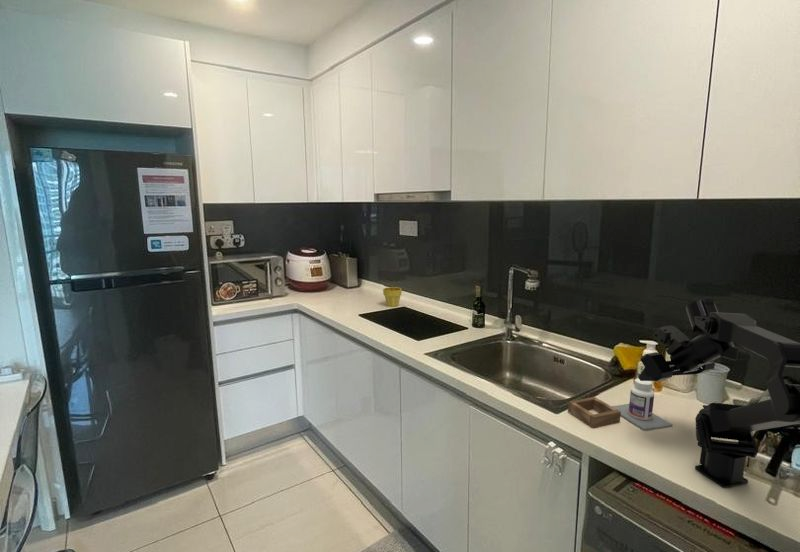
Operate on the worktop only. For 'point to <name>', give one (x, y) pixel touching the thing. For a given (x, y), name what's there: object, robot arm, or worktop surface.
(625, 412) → the grey mat
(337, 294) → the worktop surface
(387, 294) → the plant pot
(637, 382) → the pill bottle
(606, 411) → the walnut socket
